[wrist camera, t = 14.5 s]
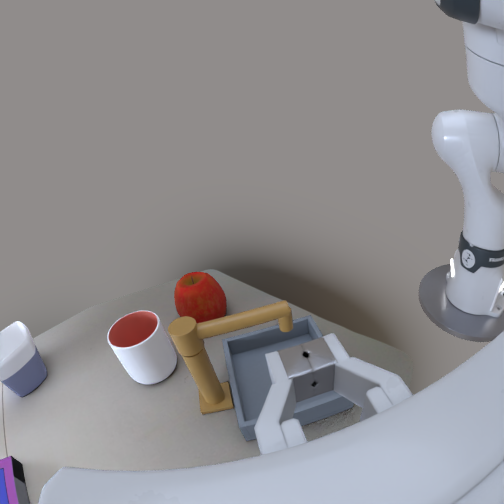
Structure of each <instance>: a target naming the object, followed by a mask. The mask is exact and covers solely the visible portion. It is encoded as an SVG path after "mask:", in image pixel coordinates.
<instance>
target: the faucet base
mask: <svg viewBox="0 0 504 504" xmlns="http://www.w3.org/2000/svg"><path fill="white" fill-rule="evenodd" d="M182 357H183V359H184V361H185V363H186V365H187V367H188V369H189V371H190V373H191V375H192V377H193V378H194V380H195V382H196V384H197V386H198V388H199V399H200V409H201V413H202V414H207V413H212V412H217V411H222V410H227V409H232V408H234V406H233V401H232V396H231V391H230V385H229V382H224V383H220V382H219V380H218V378H217V376H216V373H215V371H214V369H213V366H212V364H211V362H210V359H209V357H208V355H207V352H206V350H205V347H203V349H202V350H201V351H200V352H199V353H197V354H195V355H193V356H183V355H182Z"/></svg>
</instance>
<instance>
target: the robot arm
mask: <svg viewBox="0 0 504 504" xmlns="http://www.w3.org/2000/svg"><path fill="white" fill-rule="evenodd" d="M435 2H436V4H437V6H438V7H439V8H440V9H441V10H442V11H443V12H444V13H445V14H446V15H448V16H449V17H452V18H455V19H458V20H460V21H463V32H464V41H465V49H466V60H467V74H468V82H469V84H470V87H471V89H472V90H473V92H474V94H475V95H476V96H477V97H478V98H479V99H480V100H481V101H482V102H483V103H484V104H485V105H486V106H487V107H489V108H490V109H491V110H493V111H494V112H495V113H484V112H477V111H470V110H461V109H460V110H450V111H445V112H440V113H439V114H438V115H437V116H436V118H435V120H434V122H433V125H432V133H431V134H432V142H433V145H434V148H435V150H436V152H437V153H438V155H439V156H440V158H441V159H442V160H443V161H444V162H445V163H446V164H448V166H449V167H450V168H451V169H452V170H453V171H454V173H455V174H456V176H457V178H458V179H459V181H460V184H461V186H462V189H463V194H464V202H465V212H464V226H463V231H462V232H461V235H460V239H459V247H458V250H456V252H455V256H454V260H452V259H451V270H450V272H448V273H447V275H446V281H447V286H446V295H447V298H448V299H449V301H450V302H451V303H452V304H453V305H454V306H455V307H457V308H458V309H460V310H462V311H464V312H466V313H470V314H474V315H489V316H492V317H496V318H498V317H500V316H501V314H502V313H503V311H504V194H503V193H502V192H501V191H500V190H498V189H497V188H496V187H495V186H493V185H492V184H491V177H490V175H491V172H500V173H504V0H435ZM265 356H266V361H267V365H268V370H269V373H270V377H271V381H272V385H271V388H270V391H269V393H268V396H267V398H266V401H265V403H264V406H263V408H262V411H261V413H260V415H259V418H258V420H257V423H256V425H255V427H254V430H255V434H256V438H257V441H258V445H259V449H260V453H261V455H260V456H255V457H251V458H246V459H242V460H237V461H231V462H226V463H220V464H214V465H207V466H199V467H191V468H181V469H169V470H150V471H115V470H96V469H84V468H75V467H63V468H61V469H60V470H59V471H58V472H57V473H56V474H55V475H54V476H53V477H52V478H51V479H50V480H49V481H48V482H47V483H46V484H45V485H44V487H43V489H42V491H41V495H40V498H39V504H504V331H503V332H502V333H500V334H499V335H498V336H497V337H496V338H495V339H493V340H492V341H491V342H490V343H489V344H487V345H486V346H485V347H484V348H483V349H481V350H480V351H479V352H478V353H476V354H475V355H474V356H472V357H471V358H470V359H468V360H467V361H465V362H464V363H463V364H461V365H460V366H458V367H457V368H456V369H454V370H453V371H451V372H450V373H448V374H447V375H445V376H444V377H443V378H441V379H440V380H438V381H436V382H434V383H433V384H431V385H430V386H428V387H426V388H425V389H423V390H421V391H420V392H418V393H416V394H415V395H413V394H412V393H411V392H410V390H409V389H408V387H407V386H406V384H405V383H404V382H403V380H402V379H401V378H400V376H399V375H397V374H395V373H392V372H389V371H387V370H384V369H382V368H379V367H377V366H374V365H372V364H370V363H367V362H365V361H362V360H360V359H358V358H355V357H351V358H350V357H349V355H348V354H347V352H346V351H345V349H344V348H343V346H342V344H341V343H340V341H339V340H338V338H337V337H336V335H335V334H333V333H331V334H329V335H326V336H323V337H320V338H317V339H314V340H311V341H308V342H305V343H302V344H300V345H296V346H293V347H289V348H286V349H282V350H278V351H275V352H271V353H268V354H265ZM332 390H334V391H335V392H337V393H338V394H340V395H342V396H343V397H345V398H347V399H348V400H350V401H352V402H353V403H355V404H357V405H358V406H360V407H362V408H363V410H362V413H361V417H360V421H359V422H358V423H356V424H354V425H351V426H349V427H347V428H344V429H342V430H339V431H337V432H334V433H331V434H329V435H326V436H323V437H320V438H318V439H315V440H312V441H309V442H307V440H306V438H305V435H304V433H303V430H302V428H301V425H300V423H299V420H298V419H294V418H293V415H294V411H295V407H296V403H297V402H300V401H303V400H305V399H308V398H311V397H314V396H317V395H320V394H323V393H326V392H329V391H332ZM292 418H293V419H292Z"/></svg>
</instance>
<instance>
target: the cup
mask: <svg viewBox="0 0 504 504" xmlns="http://www.w3.org/2000/svg"><path fill="white" fill-rule="evenodd" d="M107 339H108V343H109V344H110V346H111V348H112V349H113V351H114V352H115V354H116V356H117V357H118V359H119V360H120V362H121V363H122V365H123V366H124V368H125V369H126V371H127V372H128V374H129V375H130V376H131V378H132V379H133V380H135V381H136V382H138V383H141V384H155V383H158V382H161V381H163V380H164V379H166V378H167V377H168V376H169V375H170V374H171V373H172V372H173V370H174V369H175V367H176V363H177V356H176V353H175V350H174V348H173V346H172V344H171V342H170V340H169V338H168V336H167V334H166V332H165V330H164V328H163V326H162V324H161V321H160V319H159V317H158V316H157V315H156V314H155V313H154V312H151V311H145V310H143V311H136V312H132V313H130V314H127V315H125V316H123V317H122V318H120V319H119V320H118V321H116V322H115V323H114V324H113V325H112V327H111V328H110V330H109V332H108V336H107Z"/></svg>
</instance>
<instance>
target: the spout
mask: <svg viewBox="0 0 504 504" xmlns="http://www.w3.org/2000/svg"><path fill="white" fill-rule="evenodd" d="M276 319H278V322H279V328H280V330H281V331H282V332H289V331H291V330H292V329H293V321H292V313H291V308H290V307H289V306H288V304H287V302H286V301H285V300H284V301H281V302H277V303H274V304H270V305H267V306H263V307H259V308H256V309H252V310H248V311H245V312H241V313H237V314H233V315H229V316H226V317H222V318H218V319H214V320H210V321H206V322H202V323H198V324H197V323H196V320H195V319H194V318H192V317H188V316H185V317H180V318H177V319H175V320H174V321H173V322H171V324H170V325H169V327H168V332H169V334H170V336H171V338H172V340H173V342H174V344H175V346H176V348H177V350H178V352H179V353H180V354H181V355H183V356H193V355H195V354H197V353H199V352H200V351H201V350H202V349H203V347H204V341H203V339H204V338H209V337H213V336H217V335H221V334H225V333H229V332H233V331H236V330H240V329H244V328H248V327H251V326H255V325H259V324H262V323H266V322H269V321H273V320H276Z"/></svg>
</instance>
